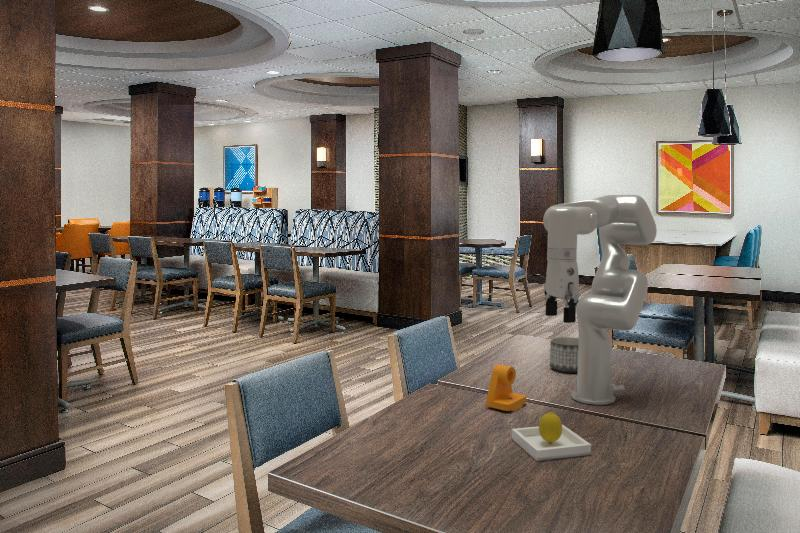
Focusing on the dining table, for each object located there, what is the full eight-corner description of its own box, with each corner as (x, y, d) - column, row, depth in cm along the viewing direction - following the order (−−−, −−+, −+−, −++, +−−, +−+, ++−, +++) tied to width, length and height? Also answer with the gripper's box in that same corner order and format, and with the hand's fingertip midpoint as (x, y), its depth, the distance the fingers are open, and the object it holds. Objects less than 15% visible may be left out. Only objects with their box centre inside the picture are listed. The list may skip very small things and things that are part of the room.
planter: (557, 363, 232) (558, 335, 231) (592, 368, 224) (593, 339, 223) (544, 370, 221) (545, 341, 220) (579, 376, 214) (580, 346, 213)
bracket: (508, 414, 178) (508, 372, 176) (486, 408, 182) (486, 368, 181) (527, 404, 186) (528, 364, 184) (506, 399, 190) (506, 360, 189)
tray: (561, 433, 163) (562, 424, 163) (590, 454, 150) (591, 444, 149) (511, 438, 160) (511, 429, 159) (536, 461, 146) (536, 450, 146)
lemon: (535, 440, 157) (536, 408, 156) (557, 439, 158) (557, 407, 157) (542, 448, 152) (543, 416, 151) (565, 447, 152) (566, 415, 151)
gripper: (592, 257, 159) (590, 324, 161) (558, 251, 176) (557, 312, 178) (565, 258, 157) (563, 326, 159) (533, 252, 174) (532, 313, 176)
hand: (560, 318), depth 168 cm, fingers open, 9 cm apart
